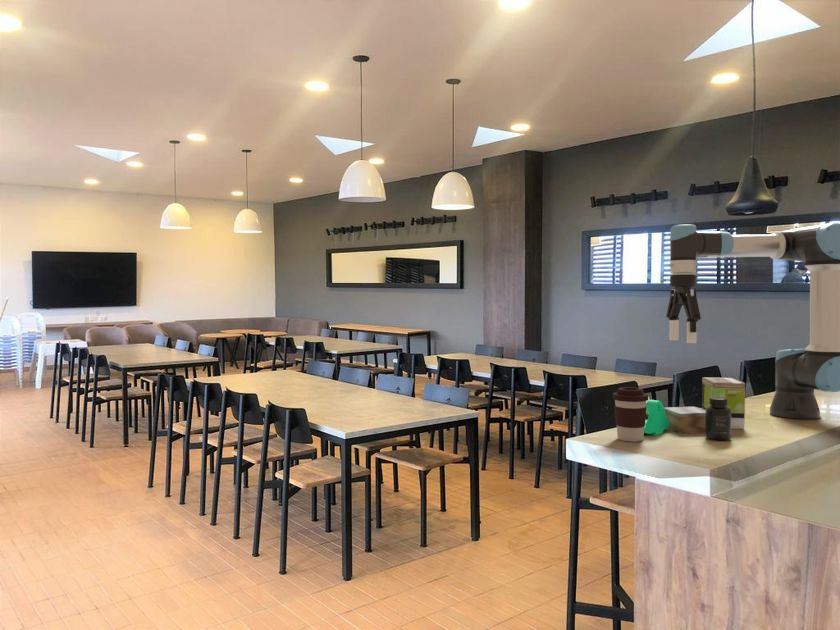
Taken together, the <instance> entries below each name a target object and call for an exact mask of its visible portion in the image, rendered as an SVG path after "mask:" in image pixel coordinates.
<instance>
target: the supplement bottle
mask: <svg viewBox="0 0 840 630" xmlns="http://www.w3.org/2000/svg"><path fill="white" fill-rule="evenodd" d="M709 404H710V406H709V407H707V408H706V432H705V438H706V439H707V440H710V441H715V442H728V441H731V439H732V429H731V410H730V409H729V408H728V407H727V405H728V403H727V398H723V397H710V398H709Z"/></svg>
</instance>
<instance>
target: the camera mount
mask: <svg viewBox="0 0 840 630" xmlns="http://www.w3.org/2000/svg"><path fill="white" fill-rule="evenodd" d="M664 408H665V407H664V404H663V402H662V401H661V400H655V399H648V400H647V401H646V414H648V417H647V419H646V421H645V427H644V434H648V435H653V436H657V435H660V434H663V433H664V430H666V429H668V428H669V422H668V419H667V416H666V413H665V410H664Z"/></svg>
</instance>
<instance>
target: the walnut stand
mask: <svg viewBox="0 0 840 630" xmlns="http://www.w3.org/2000/svg"><path fill="white" fill-rule="evenodd" d="M664 410H665V413H666V416H667V419H668V422H669V428H667V429H668V430H671V431H674V432H676V433H678V434H693V433H694V434H696V433H699V434H700V433H706V410H704V409H702V407H696V406H672V407H671V406H667V407H664Z"/></svg>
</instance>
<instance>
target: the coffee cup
mask: <svg viewBox="0 0 840 630" xmlns="http://www.w3.org/2000/svg"><path fill="white" fill-rule="evenodd" d="M612 400H614V403H615V404H614V415H615V416H614V417H615V418H614V419H615V426H616V433H617V439H618V440H619V441H623V442H631V443H634V442H635V443H636V442H642V441H644V437H645V435H644V434H645V433H644V427H645V421H646V420H647V419H646V418H647V416H646V415H647V411H646V403H647V401H648V400H649V394H648V393H645V391H644V390H643V388H639V387H632V386H625V387H619V388H617V390H616V392H612Z"/></svg>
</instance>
